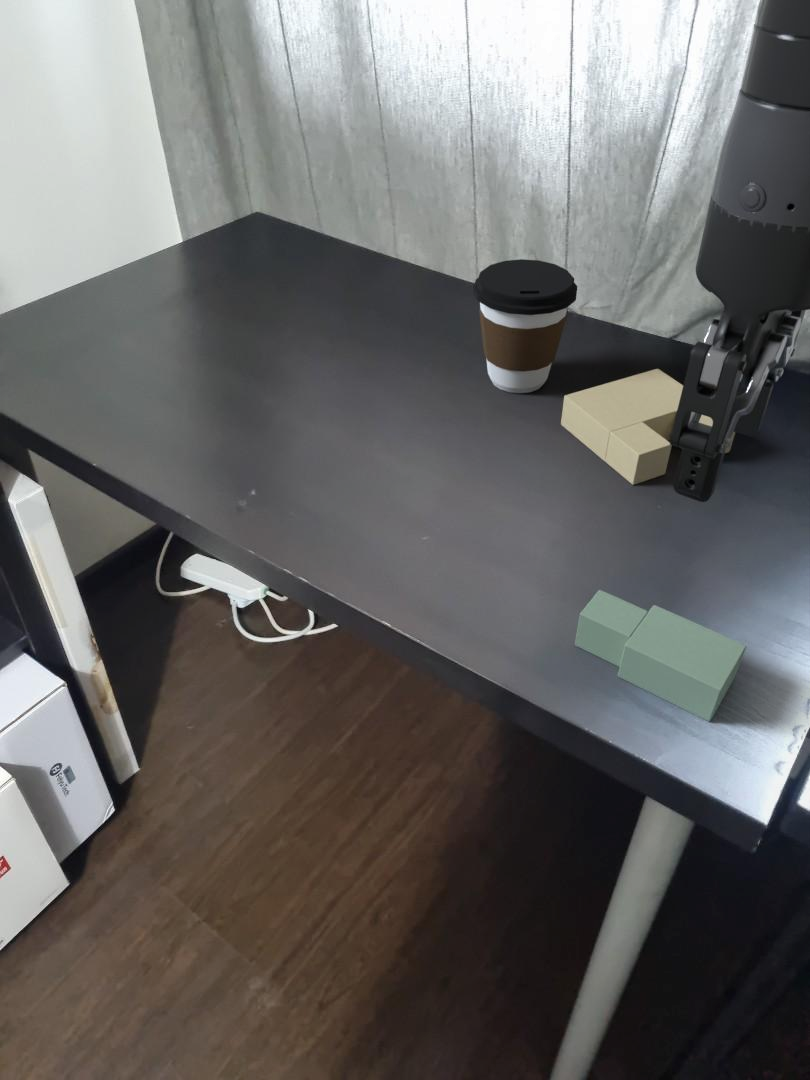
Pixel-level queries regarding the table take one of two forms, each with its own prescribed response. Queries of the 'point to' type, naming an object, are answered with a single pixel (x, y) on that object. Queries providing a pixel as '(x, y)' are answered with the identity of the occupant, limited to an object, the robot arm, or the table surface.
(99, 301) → the table surface
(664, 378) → the notch pad
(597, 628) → the pad
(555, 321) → the coffee cup
